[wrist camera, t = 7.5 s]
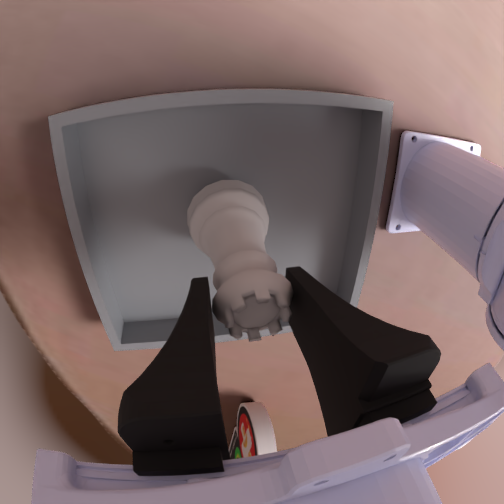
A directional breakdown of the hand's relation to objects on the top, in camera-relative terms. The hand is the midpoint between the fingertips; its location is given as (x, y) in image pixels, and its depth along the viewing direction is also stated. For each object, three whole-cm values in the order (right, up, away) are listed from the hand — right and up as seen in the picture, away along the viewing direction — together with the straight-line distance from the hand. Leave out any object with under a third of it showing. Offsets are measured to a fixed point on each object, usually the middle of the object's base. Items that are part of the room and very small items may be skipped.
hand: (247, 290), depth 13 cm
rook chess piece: (-1, +4, +4) cm, 6 cm away
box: (-1, +4, +6) cm, 7 cm away
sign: (-1, -22, +22) cm, 31 cm away
